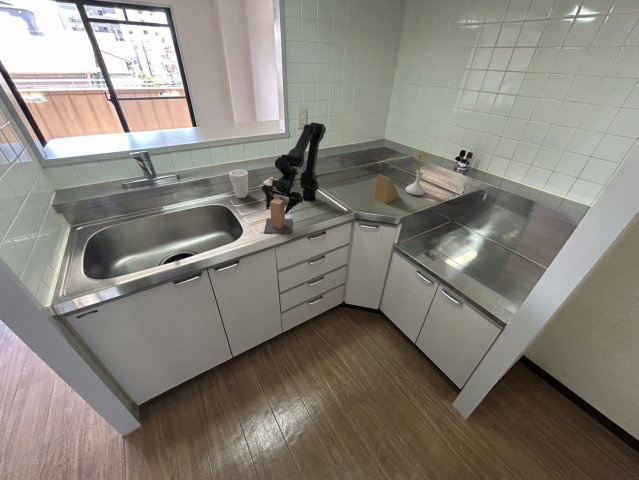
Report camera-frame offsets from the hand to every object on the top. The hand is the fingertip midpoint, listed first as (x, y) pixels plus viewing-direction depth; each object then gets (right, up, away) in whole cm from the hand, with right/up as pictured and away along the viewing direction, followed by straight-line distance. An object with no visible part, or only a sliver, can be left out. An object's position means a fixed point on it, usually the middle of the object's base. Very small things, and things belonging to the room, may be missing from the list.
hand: (276, 211), depth 116 cm
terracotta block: (0, -6, +6) cm, 8 cm away
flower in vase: (+77, +16, +45) cm, 91 cm away
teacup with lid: (-8, +11, +30) cm, 33 cm away
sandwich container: (+59, +12, +37) cm, 71 cm away
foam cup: (-24, +12, +31) cm, 41 cm away
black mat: (0, -6, +6) cm, 9 cm away
